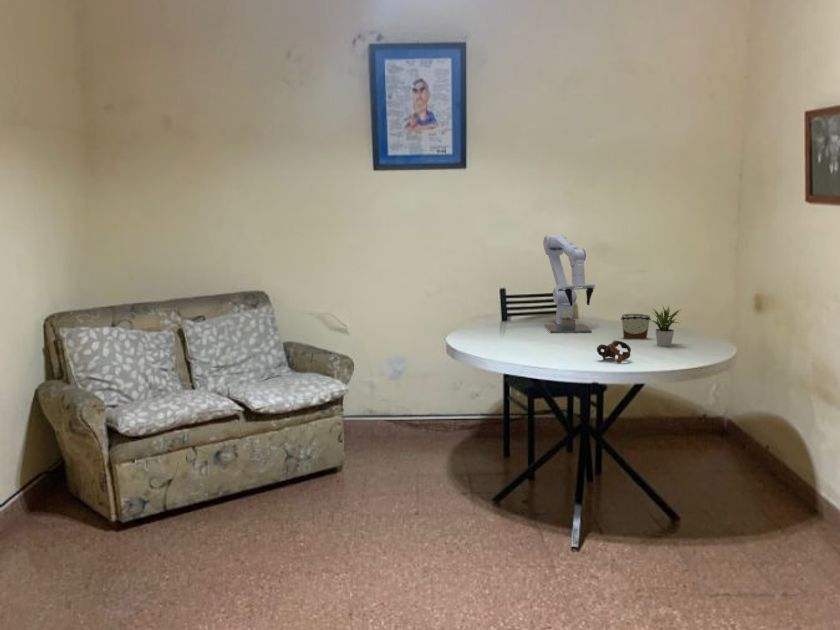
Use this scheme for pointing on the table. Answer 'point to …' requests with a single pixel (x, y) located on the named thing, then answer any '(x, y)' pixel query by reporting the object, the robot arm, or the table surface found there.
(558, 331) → the stand base
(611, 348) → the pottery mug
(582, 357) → the table surface
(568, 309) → the lift column
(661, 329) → the house plant
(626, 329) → the food container
